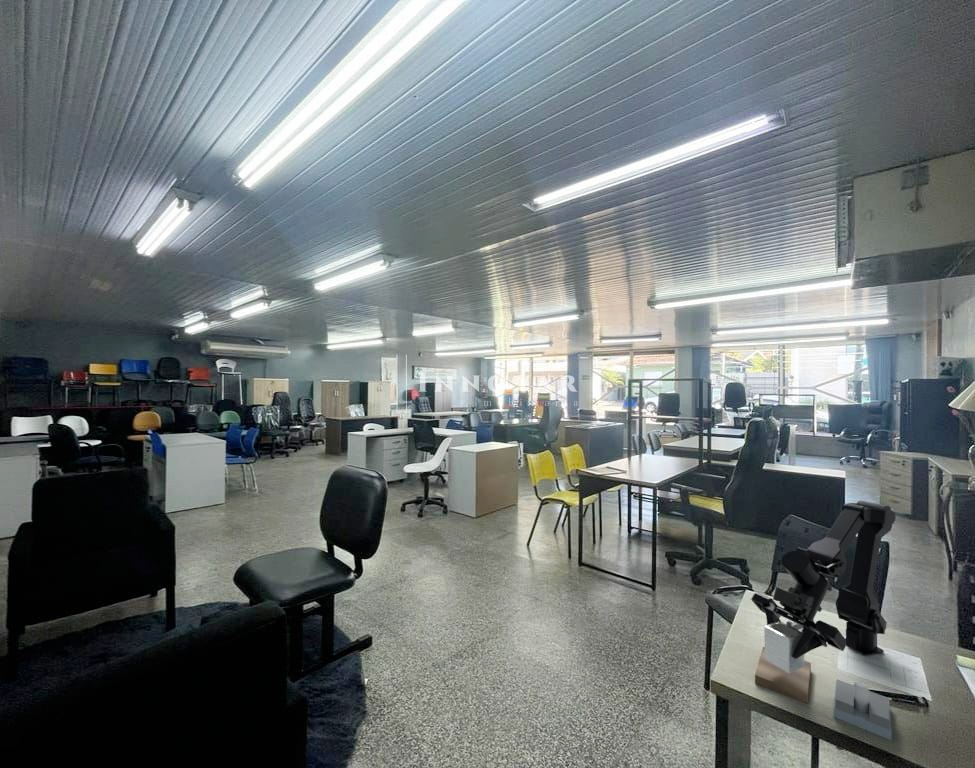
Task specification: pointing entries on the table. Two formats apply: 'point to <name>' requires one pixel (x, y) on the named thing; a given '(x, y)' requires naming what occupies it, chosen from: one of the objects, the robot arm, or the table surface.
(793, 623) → the caliper
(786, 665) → the steel sleeve
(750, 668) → the table surface
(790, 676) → the walnut board
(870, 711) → the vise
